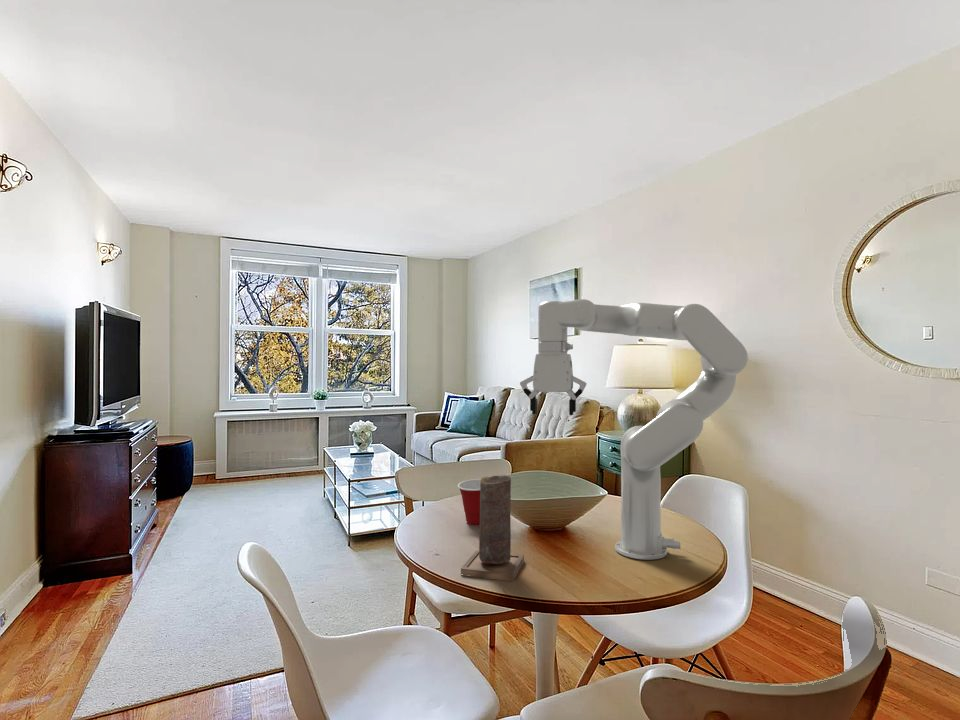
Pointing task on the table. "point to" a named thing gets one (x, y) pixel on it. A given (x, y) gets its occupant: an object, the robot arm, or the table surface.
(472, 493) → the plastic cup
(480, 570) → the picture frame
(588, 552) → the table surface
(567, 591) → the table surface
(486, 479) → the grey brown rough cylinder
